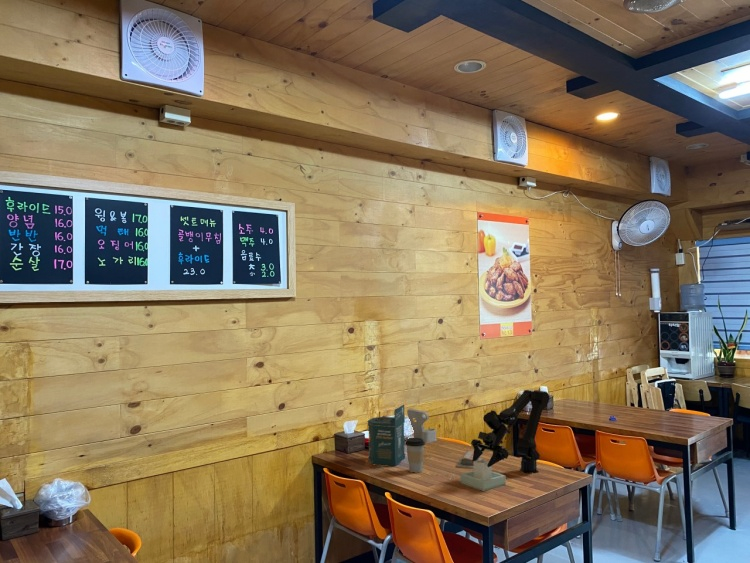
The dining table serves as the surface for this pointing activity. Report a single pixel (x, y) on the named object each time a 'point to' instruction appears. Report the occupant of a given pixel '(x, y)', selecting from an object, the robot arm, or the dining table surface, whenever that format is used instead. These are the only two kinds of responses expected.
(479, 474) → the beige hollow square block
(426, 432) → the phone holder
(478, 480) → the green square tray
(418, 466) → the coffee cup
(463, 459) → the packaged product
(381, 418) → the donation box
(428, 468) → the dining table surface
